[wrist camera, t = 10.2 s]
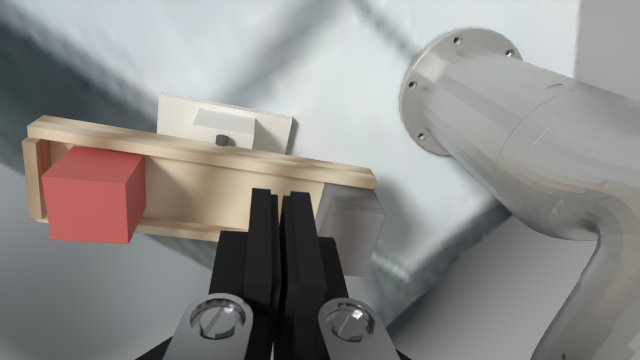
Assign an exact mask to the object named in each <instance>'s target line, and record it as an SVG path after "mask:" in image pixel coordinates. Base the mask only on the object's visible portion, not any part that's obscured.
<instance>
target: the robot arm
mask: <svg viewBox="0 0 640 360" xmlns="http://www.w3.org/2000/svg"><path fill="white" fill-rule="evenodd" d="M455 37H456V41H455V42H454V39H455ZM506 52H507V53H506ZM410 82H412V85H411V86H409V84H410ZM399 111H400V116H401V120H402V122H403V125H404V127H405V129H406V131H407V132H408V133H409V135H410V136H411V138H412V139H413V140H414V141H415V142H416V143H417V144H418V145H420V146H421V147H423V148H424V149H426V150H428V151H431V152H433V153H436V154H441V155H452V156H453V157H454V158H455V159H456V160H457V161H458V162H459V163H460V164H461V165H462V166H463V167H464V168H465V169H466V170H468V171H469V172H470V173H471V174H472V175H473V176H474V177H475V178H476V179H477V180H478V181H479V182H480V183H481V184H482V185H483V186H484V187H485V188H486V189H487V190H488V191H489V192H490V193H491V194H492V195H493V196H494V197H495V198H496V199H497V200H498V201H499V202H500V203H501V204H502V205H504V206H505V207H506V208H507V209H508V210H509V211H510V212H511V213H512V214H513V215H514V216H515V217H516V218H517V219H519V220H520V221H521V222H522V223H524V224H525V225H526V226H528V227H530V228H531V229H533V230H535V231H537V232H539V233H542V234H545V235H547V236H550V237H554V238H560V239H567V240H581V241H595V240H596V241H597V246H596V249H595V251H594V253H593V255H592V257H591V259H590V260H589V262H588V264H587V266H586V267H585V269H584V270H583V272H582V274H581V278H580V279H579V281H578V283H577V284H576V286H575V287H574V289H573V290H572V292H571V293H570V295H569V296H568V298H567V299H566V301H565V303H564V304H563V305H562V307H561V308H560V310H559V312H558V313H557V315H556V316H555V318H554V319H553V321H552V322H551V324H550V326H549V327H548V328H547V330H546V331H545V333H544V335H543V337H542V338H541V340H540V342H539V343H538V345H537V347H536V349H535V351H534V352H533V354H532V357H531V359H530V360H640V102H639V101H636V100H633V99H630V98H627V97H624V96H622V95H619V94H616V93H613V92H610V91H607V90H603V89H601V88H598V87H595V86H592V85H589V84H586V83H584V82H581V81H578V80H575V79H572V78H569V77H566V76H564V75H561V74H558V73H555V72H552V71H549V70H547V69H544V68H541V67H538V66H535V65H532V64H530V63H527V62H524V61H523V59H522V57H521V55H520V53H519V51H518V49H517V48H516V47H515V46H514V44H513V43H512V42H511V41H510V40H509V39H507V38H506V37H504V36H503V35H502V34H499V33H497V32H494V31H492V30H488V29H484V28H472V27H468V28H462V29H456V30H454V31H451V32H448V33H446V34H443V35H442V36H440V37H438V38H437V39H435V40H433V41H432V42H431V43H430V44H428V45H427V46H426V47H425V48H424V49H423V50H422V51H421V52H420V53H419V54H418V55H417V57H416V58H415V59H414V60H413V62H412V63H411V65H410V67H409V68H408V70H407V72H406V74H405V77H404V79H403V82H402V85H401V90H400V95H399ZM419 134H421V135H419ZM273 343H274V344H273ZM272 345H273V350H274V360H411V359H410V358H408V357H407V356H405V355H404V354H402V353H401V352H400V351H398V350H397V349H395V348H394V346H393V344H392V342H391V340H390V338H389V336H388V334H387V332H386V330H385V328H384V326H383V324H382V322H381V320H380V318H379V317H378V315H377V314H376V312H375V311H374V310H373V309H372V308H370V307H369V306H368V305H366V304H365V303H363V302H361V301H359V300H355V299H351V298H349V296H348V292H347V288H346V283H345V279H344V275H343V271H342V267H341V263H340V259H339V255H338V251H337V246H336V242H335V239H334V238H333V237H321V236H318V235H317V230H316V224H315V219H314V213H313V208H312V202H311V197H310V193H309V192H298V191H291V192H290V196H287V195H283V200H282V207H281V215H280V222H279V211H278V195H275V194H271V189H262V188H252V195H251V206H250V217H249V228H248V232H243V231H227V230H221V231H220V236H219V241H218V246H217V251H216V257H215V262H214V267H213V273H212V278H211V283H210V289H209V294H208V295H206V296H203V297H201V298H199V299H197V300H195V301H194V302H193V303H191V304H190V305H189V306H188V308H187V309H186V311H185V312H184V314H183V316H182V318H181V320H180V322H179V324H178V327H177V329H176V331H175V333H174V335H173V336H172V337H170V338H169V339H167V340H166V341H164V342H162V343H161V344H159V345H158V346H156V347H154V348H153V349H151V350H150V351H148V352H147V353H145V354H143V355H142V356H140V357H139V358H137V359H135V360H270V358H271V352H272Z"/></svg>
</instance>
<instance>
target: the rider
mask: <svg viewBox="0 0 640 360" xmlns="http://www.w3.org/2000/svg"><path fill="white" fill-rule="evenodd" d="M41 177H42V184H43V190H44V197H45V203H46V209H47V216H48V222H49V229H50V235H51V240H64V241H65V240H66V241H80V242H81V241H82V242H97V243H114V244H129V242H130V240H131V238H132V235H133V233H134V231H135V229H136V227H137V225H138V223H139V221H140V219H141V217H142V215H143V213H144V211H145V209H146V186H145V155H144V154H138V153H131V152H125V151H118V150H111V149H101V148H91V147H82V146H73V147H72V148H71V149H70V150H69V151H68V152H67V153H66V154H65V155H63V156H62V157H61V158H60V159H59V160H58V161H57V162H56V163H55V164H54V165H53V166H52V167H51V168H50V169H49V170H48V171H46V172H45V173H44V174H43V175H42V176H41Z"/></svg>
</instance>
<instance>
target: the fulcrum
mask: <svg viewBox="0 0 640 360" xmlns="http://www.w3.org/2000/svg"><path fill="white" fill-rule="evenodd" d="M291 124H292V116H288V115H283V114H278V113H272V112H267V111H262V110H256V109H251V108H246V107H240V106H235V105H229V104H224V103H219V102H213V101H208V100H203V99H197V98H192V97H187V96H181V95H176V94H171V93H165V92H161V93H160V95H159V107H158V124H157V134H162V135H168V136H174V137H180V138H187V139H193V140H199V141H205V142H211V143H215V142H216V136H217V135H226V136H228V137H229V140H228V145H229V146H235V147H241V148H247V149H253V150H259V151H265V152H271V153H277V154H284V155H285V152H286V147H287V142H288V138H289V133H290V128H291Z"/></svg>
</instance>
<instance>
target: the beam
mask: <svg viewBox="0 0 640 360" xmlns="http://www.w3.org/2000/svg"><path fill="white" fill-rule="evenodd" d="M27 129H28V137H27V138H26V139H24V140H23V141H22V145H23V154H24V164H25V174H26V184H27V194H28V204H29V213H30V219H36V221H37V222H45V223H49V222H48V216H47V209H46V203H45V197H44V190H43V184H42V177H41V176H42V175H43V174H44V173H45V172H46V171H48V170H49V169H50V168H51V167H52V166H53V165H54V164H55V163H56V162H57V161H58V160H59V159H60V158H61V157H62V156H63V155H65V154H66V153H67V152H68V151H69V150H70V149H71V148H72V147H73V146H82V147H91V148H101V149H111V150H118V151H125V152H131V153H138V154H144V155H145V186H146V209H145V211H144V213H143V215H142V217H141V219H140V221H139V223H138V225H137V227H136V229H135V231H134V232H135V233H144V234H153V235H162V236H171V237H180V238H189V239H198V240H207V241H216V242H218V241H219V236H220V231H221V230H227V231H243V232H248V228H249V217H250V206H251V195H252V188H262V189H271V194H275V195H278V211H279V222H280V215H281V207H282V200H283V195H287V196H290V192H291V191H298V192H309V193H310V197H311V202H312V208H313V213H314V219H315V224H316V230H317V235H318V236H321V237H333V238H334V239H335V242H336V246H337V251H338V255H339V259H340V263H341V267H342V271H343V275H348V276H358V277H363V276H364V274H365V271H366V268H367V265H368V263H369V260H370V257H371V255H372V252H373V249H374V246H375V244H376V241H377V238H378V235H379V233H380V230H381V227H382V225H383V222H384V219H385V216H386V214H385V212H384V210H383V208H382V206H381V204H380V202H379V200H378V198H377V196H376V194H375V192H374V188H375V185H376V182H377V181H376V179H375V177H374V175H373V174H372V172H371V170H370V169H368V168H362V167H356V166H350V165H344V164H338V163H332V162H326V161H320V160H314V159H308V158H302V157H296V156H290V155H284V154H277V153H271V152H265V151H259V150H253V149H247V148H241V147H235V146H229V145H228V140H229V137H228V136H226V135H217V136H216V142H215V143H211V142H205V141H199V140H193V139H187V138H180V137H174V136H168V135H162V134H156V133H150V132H144V131H138V130H132V129H126V128H120V127H114V126H108V125H102V124H96V123H90V122H83V121H77V120H71V119H65V118H59V117H53V116H47V115H43V116H42V117H40V118H39V119H37V120H36V121H34V122H33V123H31V124H30V125H28V126H27Z"/></svg>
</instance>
